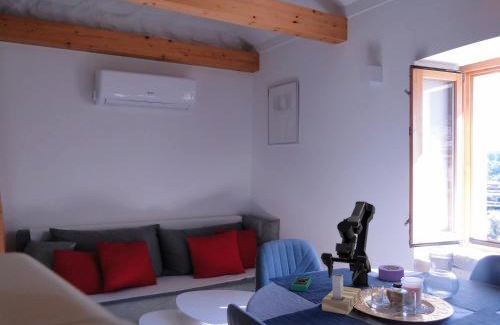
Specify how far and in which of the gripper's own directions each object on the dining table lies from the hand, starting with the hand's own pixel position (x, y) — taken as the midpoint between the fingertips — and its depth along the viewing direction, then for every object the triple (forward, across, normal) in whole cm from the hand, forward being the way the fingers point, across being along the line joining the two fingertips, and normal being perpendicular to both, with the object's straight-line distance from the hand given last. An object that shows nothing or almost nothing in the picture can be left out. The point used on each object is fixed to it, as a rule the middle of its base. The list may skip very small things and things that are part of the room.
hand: (340, 279), depth 167 cm
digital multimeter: (-4, -24, +20) cm, 31 cm away
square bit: (+10, 0, +5) cm, 11 cm away
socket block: (+6, 0, +8) cm, 10 cm away
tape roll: (-26, +10, +42) cm, 50 cm away
